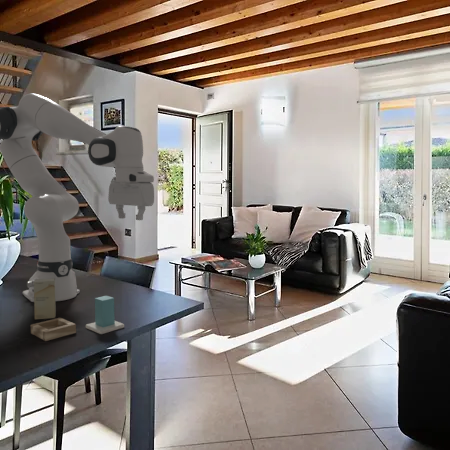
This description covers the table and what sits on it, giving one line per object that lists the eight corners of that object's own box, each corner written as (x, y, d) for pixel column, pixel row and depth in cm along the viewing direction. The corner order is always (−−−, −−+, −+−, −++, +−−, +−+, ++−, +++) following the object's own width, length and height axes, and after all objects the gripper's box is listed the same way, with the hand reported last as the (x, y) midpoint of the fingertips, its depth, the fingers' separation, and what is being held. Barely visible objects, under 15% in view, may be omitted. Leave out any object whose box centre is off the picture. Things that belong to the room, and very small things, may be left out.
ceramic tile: (85, 327, 129) (85, 324, 129) (108, 321, 135) (108, 318, 135) (100, 334, 124) (100, 330, 124) (124, 327, 130) (124, 324, 129)
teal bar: (95, 324, 129) (94, 298, 128) (107, 321, 132) (106, 295, 131) (103, 327, 126) (102, 300, 126) (114, 324, 129) (114, 297, 129)
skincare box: (34, 320, 136) (32, 282, 135) (35, 315, 140) (34, 279, 139) (55, 318, 138) (54, 280, 137) (56, 314, 142) (55, 277, 141)
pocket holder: (30, 333, 124) (30, 324, 124) (60, 325, 131) (60, 317, 131) (45, 341, 118) (45, 332, 118) (76, 332, 125) (75, 324, 125)
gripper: (103, 176, 145) (104, 217, 146) (141, 176, 131) (141, 221, 133) (119, 177, 150) (119, 216, 151) (157, 176, 136) (157, 220, 138)
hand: (130, 219), depth 142 cm, fingers open, 8 cm apart
